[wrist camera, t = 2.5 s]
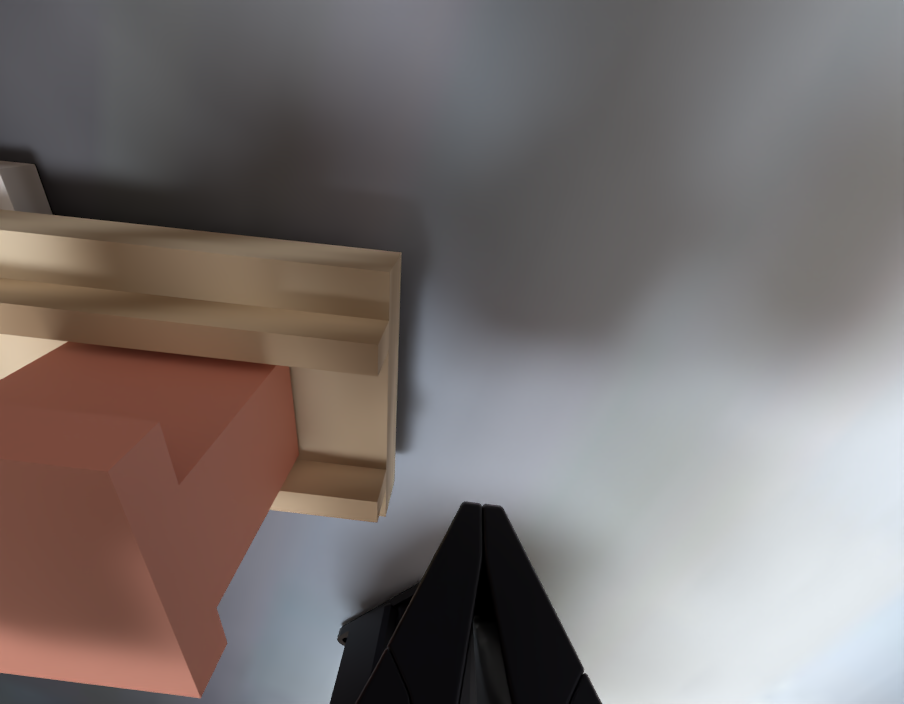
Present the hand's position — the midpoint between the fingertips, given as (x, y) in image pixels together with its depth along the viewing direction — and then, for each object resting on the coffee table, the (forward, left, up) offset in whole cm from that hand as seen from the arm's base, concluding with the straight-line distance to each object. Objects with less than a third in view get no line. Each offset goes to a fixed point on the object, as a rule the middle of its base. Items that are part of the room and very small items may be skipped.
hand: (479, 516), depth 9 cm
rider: (+6, +5, -3) cm, 8 cm away
